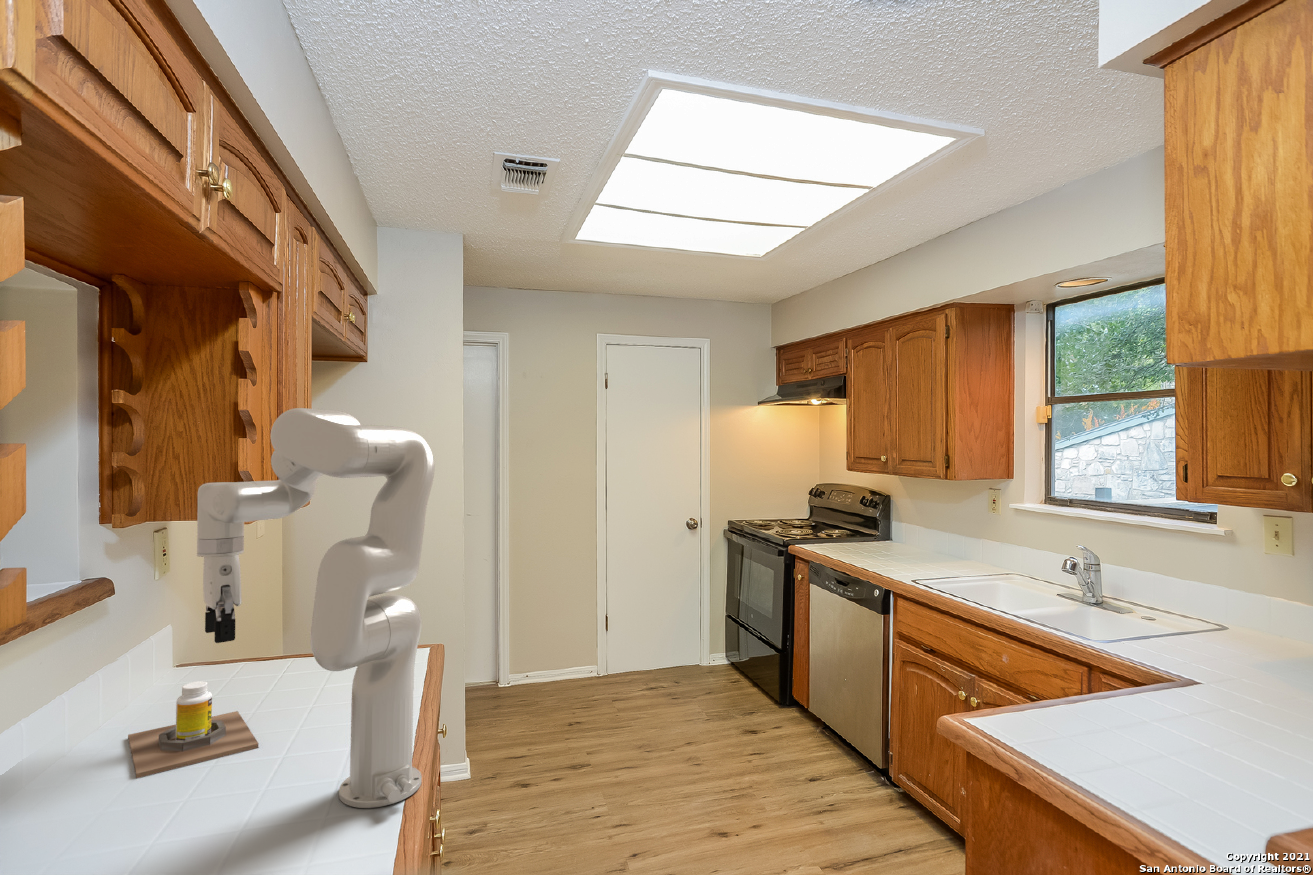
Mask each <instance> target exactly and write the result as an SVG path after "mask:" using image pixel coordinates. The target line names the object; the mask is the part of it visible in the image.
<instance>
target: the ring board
mask: <svg viewBox="0 0 1313 875" xmlns="http://www.w3.org/2000/svg"><path fill="white" fill-rule="evenodd" d="M128 740H129V741H128ZM127 741H128V745H130V746H129V750H130V749H131V750H130V754H132V755H131V758H132V759H133V760H132V764H133V768H134V774H135V778H136V779H139V778H144V777H147V776H152V775H155V774H159V773H163V772H167V771H171V770H175V769H176V770H177V769H179V768H184V767H187V766H191V765H194V764H199V763H203V762H207V761H210V760H215V759H218V758H223V757H227V756H231V755H235V754H239V753H243V752H246V751H250V750H254V749H258V748H259V741H258V740H257V738H256V737H255V736H254V734H253V732H252V731H251V729H250V728H249V726H248V725H247V723H246V722H245V720H244V719H243V717H242V715H241V714H240V712H239V711H238V710H236V711H232V712H226V713H222V714H218V715H217V714H216V715H213V716H212V717H211V733H210V734H208V735H207V736H202V737H198V738H194V739H189V740H185V741H184V740H176V723H175V724H171V725H166V726H162V727H158V728H153V729H152V728H151V729H149V730H144V731H140V732H139V731H138V732H134V733H129V734H128V735H127Z"/></svg>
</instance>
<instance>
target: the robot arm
mask: <svg viewBox="0 0 1313 875" xmlns="http://www.w3.org/2000/svg"><path fill="white" fill-rule="evenodd" d="M270 442H271V446H272V448H273V452H272V455H271V458H270V464H271V469H272V471H273V472H274V474H275V475H276V477H277V478H278V479H277V480H256V481H255V480H253V481H251V480H250V481H237V482H235V481H234V482H232V481H231V482H230V481H229V482H228V481H227V482H226V481H223V482H221V481H220V482H205V483H203V484H201V485H200V486H199V487H198V489H197V490H198V491H197V520H196V522H197V523H196V524H197V529H196V530H197V531H196V533H197V534H196V535H197V536H196V537H197V538H196V556H197V557H199V558H200V557H201V558H203V564H202V565H203V568H202V569H203V573H202V576H203V577H202V583H203V584H202V586H203V587H202V592H203V594H202V595H203V601H204V604H206V605H205V613H204V614H205V615H204V631H205V633H206V634H211V633H214V643H216V644H221V643H227V642H233V641H235V640H236V612H235V606H236V607H240V606H241V605H242V579H241V578H242V576H241V573H242V572H241V562H240V555H241V554H243V553H245V552H244V549H245V548H244V547H245V543H244V542H245V537H244V536H245V523H249V522H256V521H266V520H277V519H282V518H286V517H288V516H291V515H292V514H294V513H295V512H297V511H298V510H300V509H301V508H302V507H304V506H305V505H306V504H307V503H309V502H310V501H311V500H312V498H313V497H314V495H315V492H316V489H317V486H318V485H317V484H318V479H319V478H321V477H323V475H325V476H329V477H332V478H339V479H354V478H375V477H385V478H386V482H385V483H384V484H383V485H382V486H381V487H380V489H379V491H378V493H377V494H376V496H375V498H374V500H373V503H372V504H371V510H370V516H369V517H370V518H369V519H370V520H369V525H368V528H367V529H368V530H367V532H366V533H365V535H364V536H363V535H362V536H356V537H350V538H346V539H343V540H340V541H338V542H336V543H334V544H333V545H332V546H330V547H329V548H328V550H327V551H326V552H325V554H323V557H322V559H321V562H320V564H319V567H318V570H317V571H318V572H317V578H316V586H315V593H314V594H315V595H314V603H313V611H312V612H313V613H312V618H311V626H310V627H311V628H310V647H311V651H312V656H313V657H314V660H315V661H316V663H317V664H318V665H319V666H320V667H321V668H322V669H324V670H326V671H329V672H343V671H346V670H351V669H354V668H356V669H355V673H354V676H353V679H352V684H351V710H350V711H351V712H350V714H351V716H350V757H349V758H350V760H349V776H348V777H347V778H345V780H343V782H342V783H340V786H339V789H338V798H339V799H340V802H342V803H343V804H345V805H347V806H349V807H353V808H360V809H373V808H379V807H386V806H390V805H393V804H396V803H398V802H402V801H403V800H405V799H407V798H409V797H410V796H413V795H414V794H415V793H416V792H417V791H418V790H419V789H420V787H421V784H422V776H423V775H422V773H421V771H420V770H419V769H417V768H416V767H415V766H413V735H414V734H413V731H414V730H413V729H414V726H413V725H414V724H413V723H414V690H415V687H414V685H415V684H414V683H415V664H416V656H417V651H418V646H419V641H420V637H421V631H422V616H421V613H420V610H419V607H418V605H417V604H416V603H415V602H414V601H413V599H411V598H409V597H407V596H405V595H401V594H388V595H387V594H386V593H391V592H395V591H397V590H400V589H404V588H406V587H407V586H410V585H411V584H412V583H413V582H414V580H416V578H417V576H418V572H419V570H420V565H421V564H420V563H421V556H422V548H423V541H424V540H423V539H424V533H425V525H426V513H427V506H428V502H429V499H430V495H431V491H432V487H433V481H434V477H435V471H436V470H435V465H436V464H435V459H434V455H433V451H432V449H431V446H430V445H429V443H428V442H427V441H426V440H425V438H424V437H423V436H421V435H420V434H419V433H417V432H415V431H414V430H411V429H407V428H405V427H399V426H391V425H390V426H389V425H368V424H366V425H364V424H362V423H360V421H359V420H358V419H357V418H356V417H355V416H353V415H351V414H349V413H348V412H344V411H340V410H334V409H323V408H321V409H319V408H308V407H307V408H306V407H304V408H303V407H297V408H295V407H294V408H291V409H288V410H285V411H284V412H282V413H281V414H280V415H279V416H278V417H277V418H276V419H275V421H274V422H273V425H272V427H271V430H270ZM381 594H386V595H383V596H382V595H381ZM377 595H378V596H377ZM379 595H381V596H379ZM374 596H376V597H374ZM369 597H374V598H369Z"/></svg>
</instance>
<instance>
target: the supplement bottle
mask: <svg viewBox="0 0 1313 875" xmlns="http://www.w3.org/2000/svg"><path fill="white" fill-rule="evenodd" d="M175 702H176V704H175V706H176V707H175V724H176V740H184V741H185V740H189V739H194V738H198V737H202V736H207V735H208V734H210V733H211V717H212V711H213V709H212V708H213V694H212V692H211V691H208V682H207V681H201V680H200V681H192V682H188V683H186V684H184V685H183V686H182V687H181V695H180V696H178V697H177V698H176V701H175Z"/></svg>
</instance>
